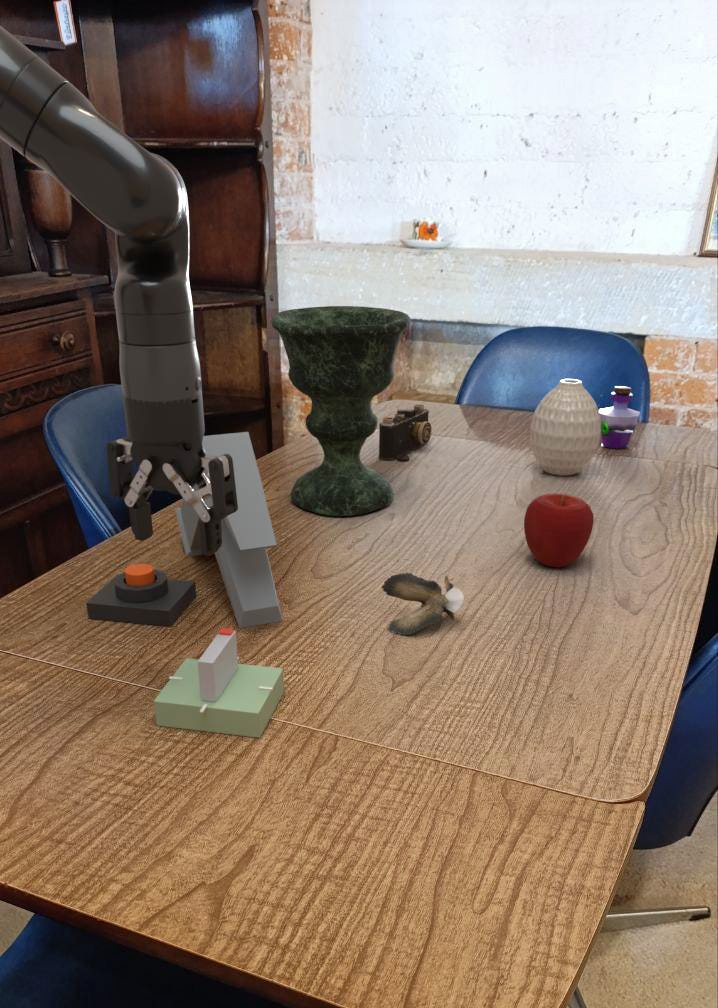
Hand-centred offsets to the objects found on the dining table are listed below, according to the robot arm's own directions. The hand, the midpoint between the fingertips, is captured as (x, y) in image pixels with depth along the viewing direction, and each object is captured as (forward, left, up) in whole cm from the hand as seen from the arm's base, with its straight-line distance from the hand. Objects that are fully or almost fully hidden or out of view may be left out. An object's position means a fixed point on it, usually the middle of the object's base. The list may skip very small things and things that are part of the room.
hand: (177, 545), depth 92 cm
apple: (+40, +40, -15) cm, 59 cm away
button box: (-12, +14, -15) cm, 24 cm away
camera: (+11, +92, -15) cm, 94 cm away
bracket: (-4, +25, -15) cm, 30 cm away
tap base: (+6, -7, -15) cm, 18 cm away
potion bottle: (+52, +105, -15) cm, 118 cm away
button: (-12, +14, -12) cm, 22 cm away
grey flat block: (+6, -7, -12) cm, 15 cm away
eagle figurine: (+24, +17, -15) cm, 34 cm away
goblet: (+4, +61, -15) cm, 63 cm away
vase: (+41, +85, -15) cm, 96 cm away
